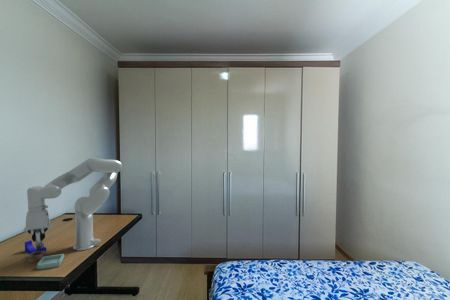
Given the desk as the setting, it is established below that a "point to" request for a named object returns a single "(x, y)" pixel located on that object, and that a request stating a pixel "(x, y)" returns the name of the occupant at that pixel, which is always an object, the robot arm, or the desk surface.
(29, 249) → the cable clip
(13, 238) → the desk surface
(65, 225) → the desk surface
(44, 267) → the tray
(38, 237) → the flashlight
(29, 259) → the socket
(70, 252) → the desk surface
